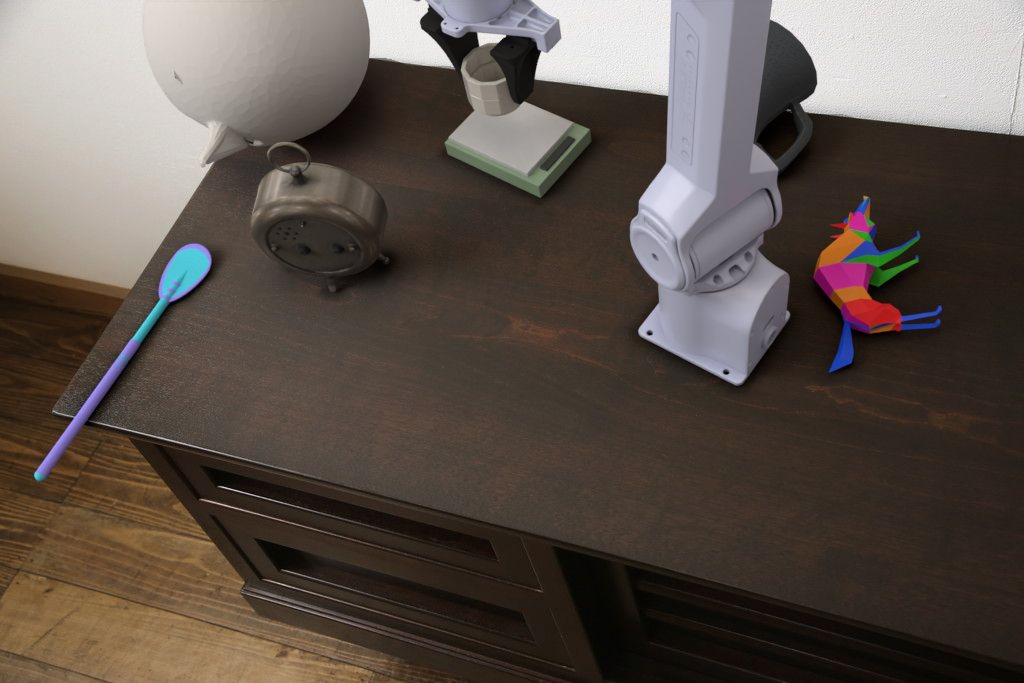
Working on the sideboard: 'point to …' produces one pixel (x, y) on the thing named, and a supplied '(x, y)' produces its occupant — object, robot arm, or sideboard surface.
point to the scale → (520, 146)
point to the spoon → (137, 338)
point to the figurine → (862, 281)
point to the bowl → (486, 83)
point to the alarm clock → (318, 219)
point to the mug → (785, 88)
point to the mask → (257, 65)
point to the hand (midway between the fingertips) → (496, 85)
